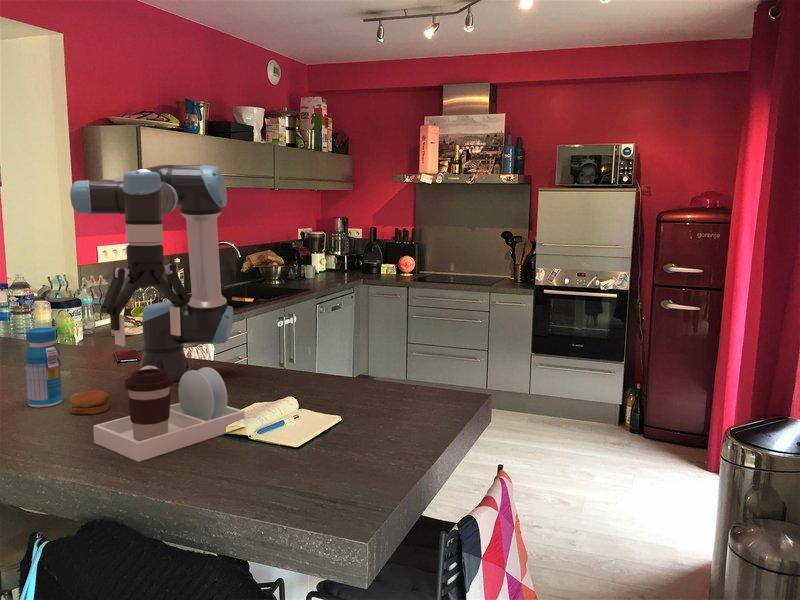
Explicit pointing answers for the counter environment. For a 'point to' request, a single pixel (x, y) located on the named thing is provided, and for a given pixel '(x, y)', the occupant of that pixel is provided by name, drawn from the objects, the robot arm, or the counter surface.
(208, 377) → the plates
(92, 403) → the burger
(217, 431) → the white tray
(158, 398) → the coffee cup
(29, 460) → the counter surface
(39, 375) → the beverage bottle
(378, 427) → the counter surface
